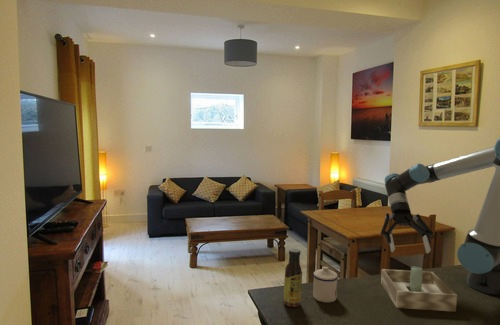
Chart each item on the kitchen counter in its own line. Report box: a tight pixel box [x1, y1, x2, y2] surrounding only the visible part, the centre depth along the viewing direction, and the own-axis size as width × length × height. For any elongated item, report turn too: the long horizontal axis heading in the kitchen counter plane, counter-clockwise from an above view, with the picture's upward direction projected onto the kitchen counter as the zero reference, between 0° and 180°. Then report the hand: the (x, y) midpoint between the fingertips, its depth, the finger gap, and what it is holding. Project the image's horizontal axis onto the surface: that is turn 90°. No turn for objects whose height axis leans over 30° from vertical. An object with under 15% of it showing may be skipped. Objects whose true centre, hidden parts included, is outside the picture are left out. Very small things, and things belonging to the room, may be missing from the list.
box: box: [380, 268, 458, 312], centre depth 130 cm, size 20×20×6 cm
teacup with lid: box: [312, 266, 339, 304], centre depth 130 cm, size 12×9×12 cm
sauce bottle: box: [283, 248, 303, 308], centre depth 123 cm, size 6×6×20 cm
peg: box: [410, 265, 423, 292], centre depth 130 cm, size 4×4×11 cm
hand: (410, 251), depth 135 cm, fingers open, 13 cm apart
